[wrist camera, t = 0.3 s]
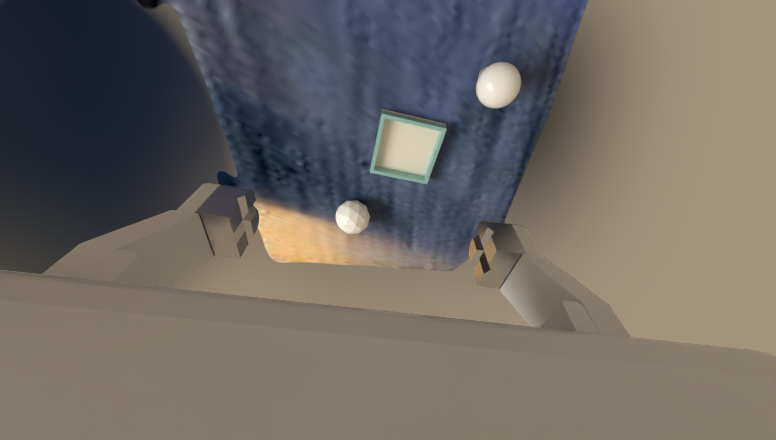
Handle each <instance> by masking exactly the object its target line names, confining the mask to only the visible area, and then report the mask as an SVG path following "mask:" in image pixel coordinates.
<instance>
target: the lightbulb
mask: <svg viewBox="0 0 776 440" xmlns="http://www.w3.org/2000/svg"><path fill="white" fill-rule="evenodd" d="M520 87H521V76H520V73H519V71H518V70H517V68H516V67H515V66H514V65H512V64H510V63H507V62H497V63H494V64H491V65H490V66H486V67H484V68H482V69H481V70H480V72H479V78H478V80H477V84H476V93H477V97H478V99H479V101H480V102H481V103H482V104H483V105H485V106H486V107H489V108H501V107H504V106H506V105H508V104H510V103H511V102H512V101H513V100H514V99H515V98H516V96H517V95H518V93H519V90H520Z"/></svg>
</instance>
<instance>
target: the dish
mask: <svg viewBox="0 0 776 440" xmlns="http://www.w3.org/2000/svg"><path fill="white" fill-rule="evenodd" d="M446 130H447V127H446V124H445V123H440V122H436V121H432V120H427V119H423V118H419V117H415V116H410V115H406V114H402V113H398V112H393V111H389V110H385V109H382V113H381V118H380V123H379V128H378V133H377V138H376V143H375V148H374V153H373V158H372V162H371V168H370V173H375V174H380V175H385V176H390V177H394V178H399V179H404V180H409V181H414V182H419V183H423V184H427V183H428V180H429V177H430V174H431V172H432V169H433V166H434V163H435V161H436V158H437V155H438V152H439V150H440V147H441V144H442V141H443V139H444V136H445V133H446Z"/></svg>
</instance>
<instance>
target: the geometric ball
mask: <svg viewBox="0 0 776 440" xmlns="http://www.w3.org/2000/svg"><path fill="white" fill-rule="evenodd" d="M369 218H370V215H369V212H368V210H367V207H366V206H365V205H364V204H362V203H361V202H359V201H358V200H352V201H346V202H345V203H343V204H342V205H341V206H340V207H338V210H337V212H336V221H337V224H338V226H339V228H340V229H342V230H343V231H344V232H346V233H348V234H353V233H360V232H361V231H362V230H364V229H365V228H366V227H367V225H368V222H369Z"/></svg>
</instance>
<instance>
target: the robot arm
mask: <svg viewBox="0 0 776 440" xmlns="http://www.w3.org/2000/svg"><path fill="white" fill-rule="evenodd" d="M255 201H256V198H255V193H254V191H252V190H251V189H244V188H238V187H231V186H225V185H217V184H210V183H206V184H203V185H202V186H201V187H200V188H199V189H198V190H197V191H196V192H195V193H194V194H193V195H192V196H191V197H190V198H189V199H187V200H186V202H184V203H183V204H182V205H181V207H179V208H178V209H177V210H176V211H173V210H170V211H168V212H165V213H162V214H159V215H157V216H154V217H151V218H149V219H146V220H143V221H141V222H138V223H135V224H133V225H130V226H127V227H124V228H121V229H119V230H116V231H113V232H111V233H108V234H105V235H103V236H100V237H97V238H94V239H92V240H89V241H86V242H84V243H81V244H79V245H78V246H77V247H75V248H74V249H73V250H72V251H70V253H68V254H67V255H65V256H64V257H63V258H62V259H60V260H59V261H58V262H57V263H55V264H54V265H53V266H52V267H50V268H49V269H48V270H47V271H45V272H44V273H43V274H42V275H41V274H32V273H23V272H13V271H4V270H0V440H776V356H774V355H771V354H768V353H765V352H760V351H755V350H748V349H738V348H728V347H718V346H709V345H699V344H690V343H680V342H671V341H662V340H652V339H643V338H633V337H630V335H629V334H628V332H627V331H626V330H625V328H624V326H623V325H622V323H621V322H620V320H619V319H618V317H617V316H616V314H615V313H614V311H613V310H612V308H611V307H610V305H609V304H608V303H606V302H605V301H604V300H602V299H601V298H600V297H598V296H597V295H596V294H594V293H593V292H591V291H590V290H589V289H588V288H586V287H585V286H584V285H582V284H581V283H580V282H578V281H577V280H576V279H574V278H573V277H572V276H570V275H569V274H568V273H566V272H565V271H563V270H562V269H561V268H559V267H558V266H557V265H555V264H554V263H553V262H551V261H550V260H549V259H547V258H546V257H541V255H540V253H539V251H538V249H537V247H536V246H535V244H534V242H533V240H532V238H531V236H530V235H529V233H528V231H527V229H526V227H525V226H523V225H518V224H505V223H498V222H490V221H481V222H480V223H479V226H478V228H477V230H478V235H476V236H475V237H473V238H472V241H471V243H470V248H469V257H470V261H471V263H472V264H473V265H475V268H474V270H473V272H474V276H475V279H476V283H477V286H483V287H491V288H498V289H500V291H501V292H502V293H503V294H504V296H505V297H506V298H507V299H508V300H509V302H510V303H511V304H512V305H513V306H514V307H515V309H516V310H517V311H518V312H519V313H520V314H521V316H522V317H523V318H524V319H525V320H526V321H527V323H528V324H529V325H530V326H531V327H530V326H520V325H511V324H502V323H492V322H483V321H473V320H464V319H455V318H445V317H436V316H426V315H417V314H408V313H399V312H389V311H380V310H370V309H361V308H351V307H342V306H333V305H324V304H314V303H304V302H295V301H286V300H276V299H267V298H258V297H247V296H239V295H229V294H220V293H211V292H201V291H192V290H183V289H173V288H168V287H170V286H171V285H173V284H174V283H176V282H177V281H179V280H180V279H182V278H183V277H185V276H186V275H188V274H189V273H191V272H192V271H194V270H195V269H197V268H198V267H200V266H201V265H203V264H204V263H206V262H207V261H209V260H210V259H212V258H213V257H214V256H222V257H233V258H240V257H241V256H242V254H243V253H244V251H245V249H246V247H247V246H248V240H247V239H248V238H250V237H252V236H253V235H254V234H255V232H256V230H257V227H258V223H259V214H258V210H257V209H256V208H255V207H254V205H253V204H254V202H255Z"/></svg>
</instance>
